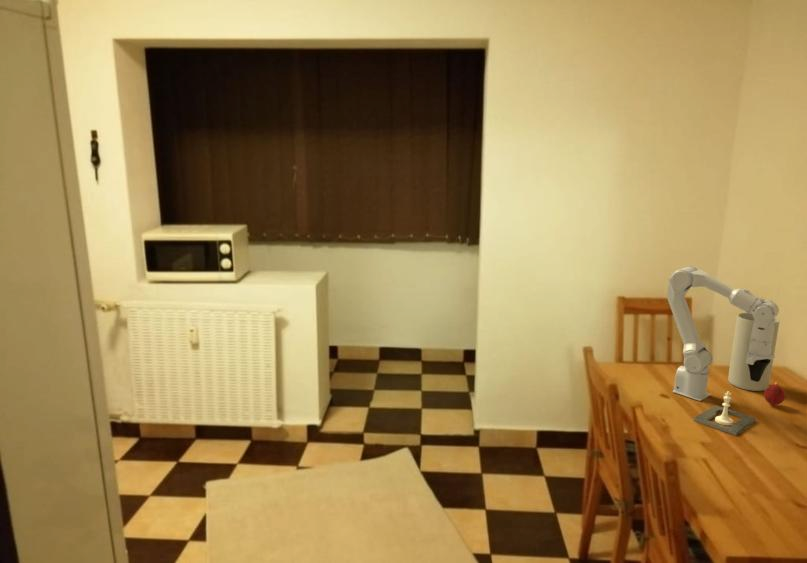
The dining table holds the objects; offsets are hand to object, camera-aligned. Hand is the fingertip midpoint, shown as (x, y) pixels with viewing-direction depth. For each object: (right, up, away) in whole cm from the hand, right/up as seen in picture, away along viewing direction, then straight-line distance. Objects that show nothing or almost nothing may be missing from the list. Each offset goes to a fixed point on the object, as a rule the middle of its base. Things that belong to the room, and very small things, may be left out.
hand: (755, 380), depth 177 cm
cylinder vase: (+12, -6, +23) cm, 26 cm away
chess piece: (-13, -12, -5) cm, 18 cm away
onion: (+10, -10, +6) cm, 15 cm away
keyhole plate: (-12, -12, -5) cm, 18 cm away
